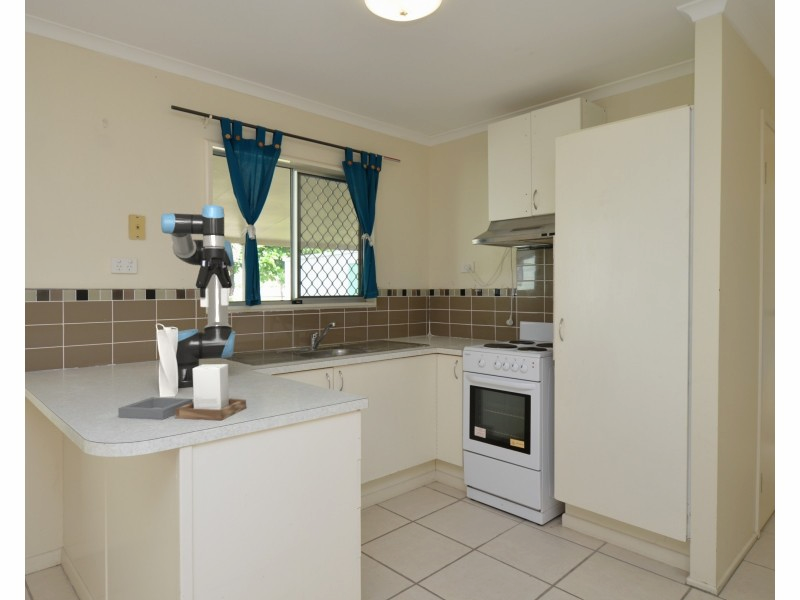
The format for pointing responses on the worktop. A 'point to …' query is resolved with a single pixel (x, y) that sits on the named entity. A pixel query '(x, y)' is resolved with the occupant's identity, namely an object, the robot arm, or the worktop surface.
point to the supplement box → (210, 386)
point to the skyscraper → (168, 361)
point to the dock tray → (210, 411)
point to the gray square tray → (148, 412)
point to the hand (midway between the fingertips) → (215, 306)
